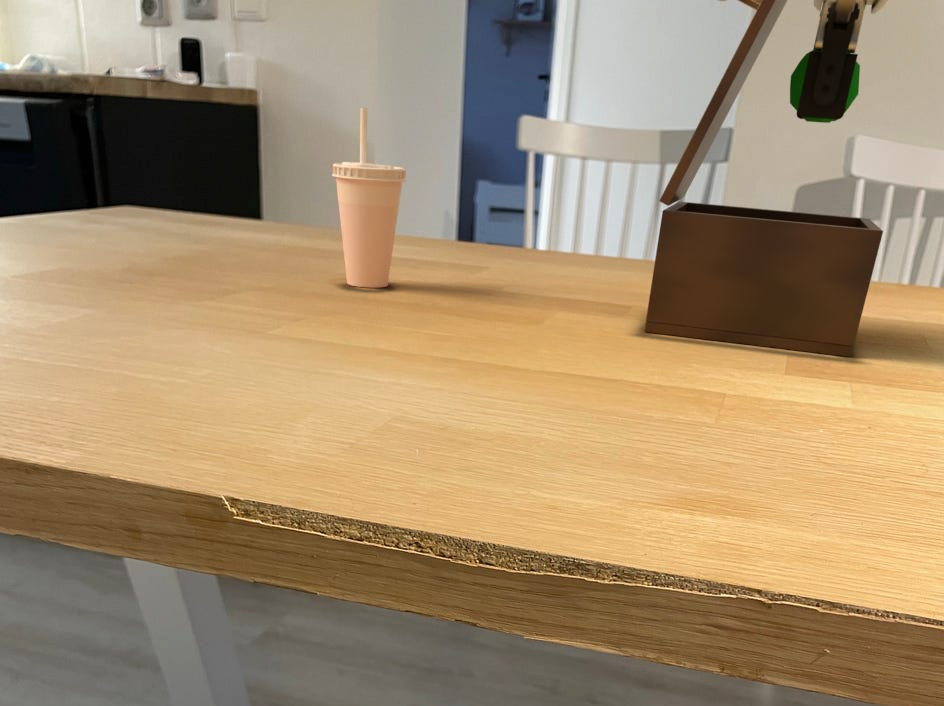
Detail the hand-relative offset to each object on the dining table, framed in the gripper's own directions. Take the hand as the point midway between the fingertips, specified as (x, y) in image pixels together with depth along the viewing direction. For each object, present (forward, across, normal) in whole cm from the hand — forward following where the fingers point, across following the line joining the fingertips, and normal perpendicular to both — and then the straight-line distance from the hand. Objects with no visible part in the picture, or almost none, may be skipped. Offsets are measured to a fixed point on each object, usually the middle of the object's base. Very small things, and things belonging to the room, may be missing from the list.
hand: (818, 116), depth 70 cm
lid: (-1, 0, +6) cm, 7 cm away
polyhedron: (+1, 0, 0) cm, 1 cm away
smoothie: (+16, +1, +36) cm, 39 cm away
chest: (+16, 0, +2) cm, 16 cm away
